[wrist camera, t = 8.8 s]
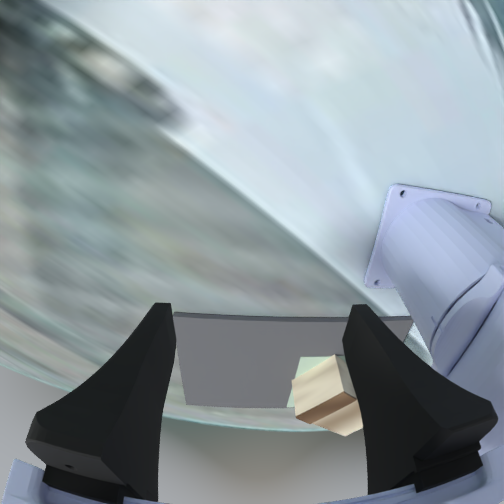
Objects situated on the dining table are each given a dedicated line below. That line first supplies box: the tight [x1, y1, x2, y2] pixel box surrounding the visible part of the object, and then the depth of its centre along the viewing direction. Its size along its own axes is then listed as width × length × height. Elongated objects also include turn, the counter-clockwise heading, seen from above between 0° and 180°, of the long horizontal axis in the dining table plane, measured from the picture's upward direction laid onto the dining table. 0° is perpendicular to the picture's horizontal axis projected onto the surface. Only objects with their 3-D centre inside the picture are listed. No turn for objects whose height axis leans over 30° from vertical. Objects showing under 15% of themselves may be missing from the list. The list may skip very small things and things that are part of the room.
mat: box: [173, 312, 413, 408], centre depth 28 cm, size 20×13×1 cm, turn 86°
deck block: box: [292, 354, 363, 436], centre depth 27 cm, size 8×5×4 cm, turn 46°
